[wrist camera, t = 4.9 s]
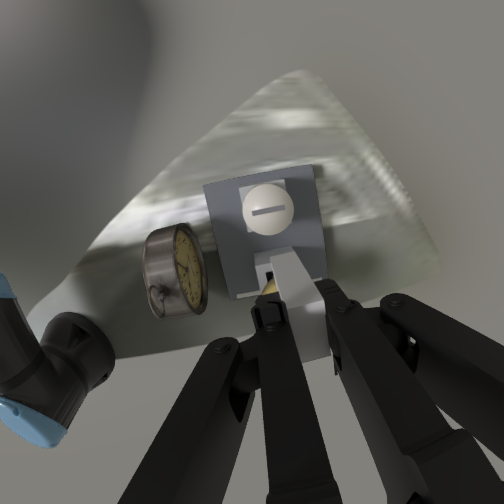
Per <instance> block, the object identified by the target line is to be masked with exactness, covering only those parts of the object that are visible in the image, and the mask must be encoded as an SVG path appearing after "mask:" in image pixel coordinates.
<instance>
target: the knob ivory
mask: <svg viewBox="0 0 504 504" xmlns="http://www.w3.org/2000/svg"><path fill="white" fill-rule="evenodd" d="M293 214H294V205H293V202H292V199H291V197H290V196H289V194H288V193H287V192H286V191H285V190H284V189H282V188H280V187H278V186H276V185H274V184H270V183H262V184H258V185H256V186H254V187H253V188H251V189H250V190H249V191H248V192H247V194H246V196H245V198H244V201H243V217H244V220H245V222H246V224H247V225H248V226H249V227H250V228H251V229H252V230H253V231H254V232H256V233H258V234H262V235H274V234H278V233H280V232H282V231H283V230H284V229H286V228H287V227H288V225H289V224H290V222H291V220H292V218H293Z"/></svg>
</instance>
